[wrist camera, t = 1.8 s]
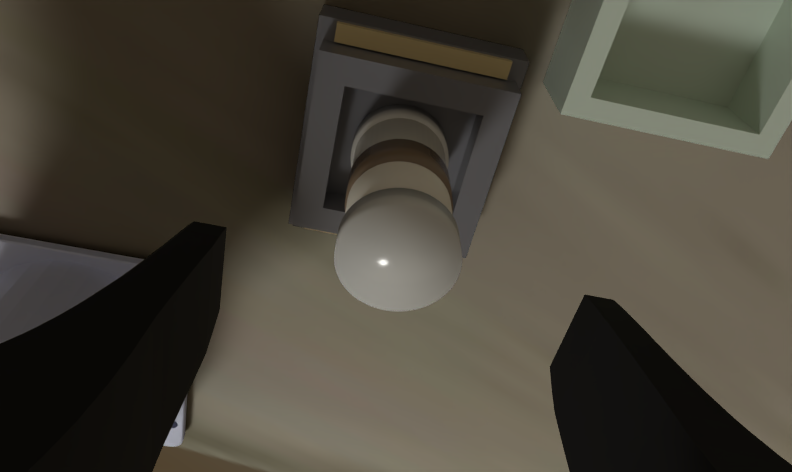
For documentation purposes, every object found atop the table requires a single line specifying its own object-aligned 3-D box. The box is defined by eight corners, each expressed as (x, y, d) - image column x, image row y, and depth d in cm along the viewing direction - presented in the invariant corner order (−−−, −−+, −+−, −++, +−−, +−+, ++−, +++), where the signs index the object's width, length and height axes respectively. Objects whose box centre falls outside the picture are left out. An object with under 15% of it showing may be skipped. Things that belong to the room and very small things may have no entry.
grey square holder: (461, 236, 22) (466, 274, 20) (294, 204, 21) (283, 240, 19) (522, 49, 18) (536, 73, 16) (324, 4, 18) (314, 24, 16)
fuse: (433, 198, 20) (444, 320, 15) (345, 180, 19) (324, 299, 14) (458, 115, 18) (477, 220, 13) (361, 94, 18) (346, 194, 13)
